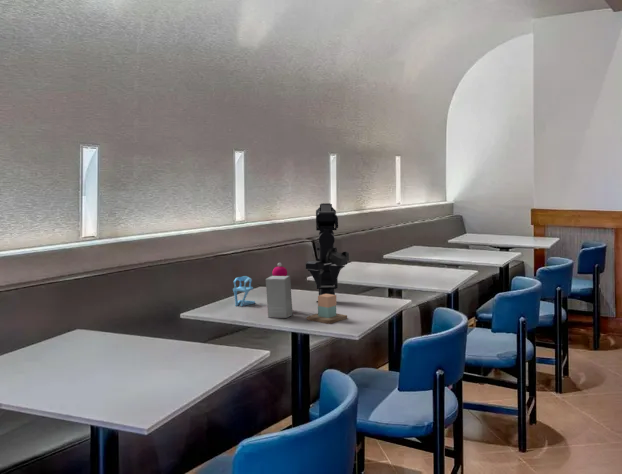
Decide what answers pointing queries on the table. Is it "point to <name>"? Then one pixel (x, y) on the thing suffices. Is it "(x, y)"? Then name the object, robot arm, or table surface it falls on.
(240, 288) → the chair
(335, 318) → the walnut board
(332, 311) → the teal brick
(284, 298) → the skincare box
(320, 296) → the tan brick
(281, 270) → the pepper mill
